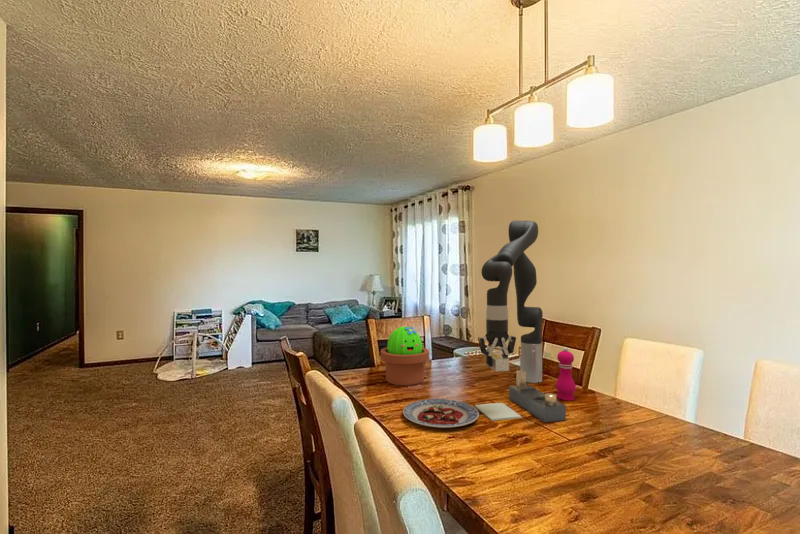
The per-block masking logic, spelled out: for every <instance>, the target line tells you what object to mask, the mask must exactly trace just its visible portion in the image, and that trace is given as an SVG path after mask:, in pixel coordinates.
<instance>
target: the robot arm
mask: <svg viewBox="0 0 800 534" xmlns="http://www.w3.org/2000/svg"><path fill="white" fill-rule="evenodd" d="M538 235H539V226H538V223H537V222H536V221H534V220H512V221H510V223H509V224H508V240H509V242H508V243H505V244H504V245H503V246H502V247H501V249H500V250H499V251H498V252H497V254H495V255H493V256H492V257H490V258H489V259H488V260H486V262H485V263H483V265H482V267H481V270H480V271H481V277H482V279H484V280H485V281H487V282H498V284H497V286H496V287H492V288H489V289H487V291H486V309H485V316H486V317H485V322H486V323H485V325H486V326H485V327H486V328H485V330H486V331H485V332H486V334H485V336H482V337H481V336H479V337H477V340H478V344H479V349H480V353H481V354H483V355H485V364H486V363H487V365H488V366H489V367H492V356H491V355H492V353H494V351H495V348H497V347H499V348H500V350H501V351H502V352H501V353H502V354H501V355H502V356H504V357H506V358H508V359H509V355H510V354H513V353H514V350H515V347H516V346H515V345H516V341H517V337H516V336H514V335H510V334H509V333H508V332H509V309H508V292H509V287H510V283H511V281H512V276H513V279H514V286H515V294H516V295H515V296H516V318H517V319H516V321H517V324H518V326H520V327H523V328H534V329H533V330H532V331H531V332H528V333H525V334H522V335H521V336H520V358H519V370H523V371H525V372H526V383H532V384H538V382H539V383H542V382H543V319H544V318H543V317H544V316H543V315H544V314H543V313H544V312H543V310H542V308H541V307H538V306H525V304H526V301H527V300H528V299H529V297H530V295H531V294H532V293H533V291H534V289H535V288H536V286H537V284H538V283H537V282H538V281H537V278H538V277H537V270H536V267H535V265H534V263H533V262H532V260H531V259H530V258H529V257H528V256H527V254H526V253H525V251H526V250H527V249H528V248H530V247H531V246H532V245H533V244H534V243H535V242H536V241H537V238H538ZM486 342H487V346H486ZM506 342H508V343H506ZM489 367H488V368H489Z"/></svg>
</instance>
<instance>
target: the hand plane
mask: <svg viewBox="0 0 800 534" xmlns="http://www.w3.org/2000/svg"><path fill="white" fill-rule="evenodd" d="M515 378H516V380H515V381H516V385H509V387H508V388H509V389H508V391H509V392H508V393H509V394H508V396H509V400H510V401H512V402H513V403H515V404H516V405H518V406H520V407H521V409H524V410H525V411H527V412H528V413H529V414H531V415H532V416H534V417H536V418H537V419H539V421H541V422H543V423H551V422H560V421H561V422H563V421H567V417H566V416H567V411H566V409H567V405H566V404H564V403H562V402H560V401H559V400H557V394H555V393H549V392H547V393H544V392H542V391H540V390H539V389H537V388H536V387H533V386H531V385H530V384H527V382H526V372H525V371H523V370H520V369H519V370H516V377H515Z"/></svg>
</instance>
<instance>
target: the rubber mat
mask: <svg viewBox="0 0 800 534" xmlns="http://www.w3.org/2000/svg"><path fill="white" fill-rule="evenodd" d="M474 408H475V409H476V410H477V411H478V412H480V413H482V414H483V415H484V416H485V417H487V419H488V420H490V421H503V420H505V421H507V420H515V419H522V416H521V415H520V414H519V413H517V412H516V411H515V410H514V409H512V408H510V407H509V406H507V405H506V404H505V403H503V402H494V403H481V404H474Z"/></svg>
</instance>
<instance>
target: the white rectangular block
mask: <svg viewBox="0 0 800 534" xmlns="http://www.w3.org/2000/svg"><path fill="white" fill-rule="evenodd" d="M491 356H492V367H489V366H488V365H487V363H486V362H485V366H486V367H488V369H491V370H492V371H494V372H505V371H506V372H507V371H509V372H510V359H509V357H508V358H506V357H504V356H502V354H499V353H498V352H494V351H493V352H492V355H491Z"/></svg>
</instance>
